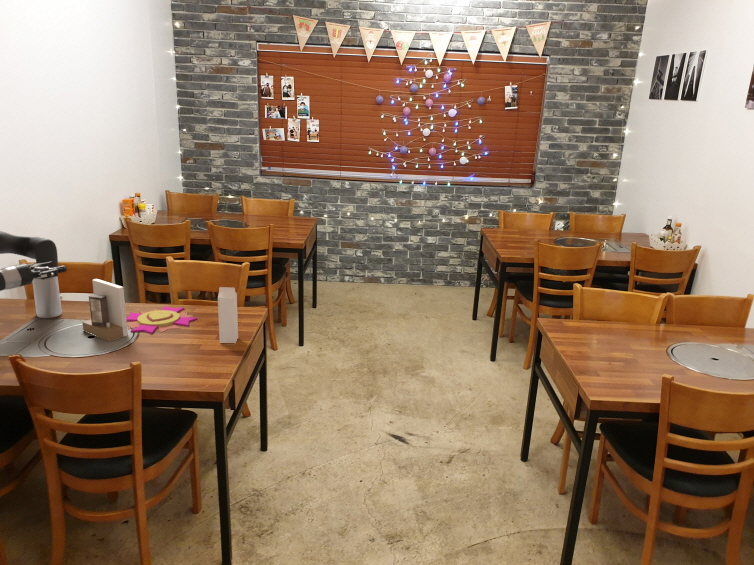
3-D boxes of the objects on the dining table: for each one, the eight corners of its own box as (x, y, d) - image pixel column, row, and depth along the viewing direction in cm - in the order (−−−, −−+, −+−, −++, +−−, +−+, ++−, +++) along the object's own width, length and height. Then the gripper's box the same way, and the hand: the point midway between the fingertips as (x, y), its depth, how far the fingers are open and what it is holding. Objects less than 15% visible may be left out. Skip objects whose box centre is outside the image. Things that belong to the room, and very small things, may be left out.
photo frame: (91, 325, 227) (88, 296, 224) (97, 322, 230) (94, 294, 227) (104, 327, 226) (101, 298, 223) (109, 324, 229) (106, 295, 226)
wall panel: (83, 331, 232) (77, 283, 226) (101, 325, 238) (96, 278, 233) (109, 341, 223) (104, 292, 217) (128, 335, 230) (123, 287, 224)
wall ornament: (105, 325, 233) (142, 301, 262) (105, 331, 234) (142, 306, 263) (177, 331, 230) (206, 306, 259) (177, 337, 231) (207, 311, 260)
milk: (235, 344, 226) (233, 290, 219) (219, 343, 226) (217, 289, 219) (238, 338, 232) (236, 285, 225) (222, 337, 231) (220, 284, 225)
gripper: (4, 283, 207) (49, 272, 220) (26, 291, 200) (72, 279, 213) (1, 263, 205) (46, 253, 218) (23, 270, 198) (69, 259, 211)
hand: (59, 266), depth 215 cm, fingers open, 8 cm apart
